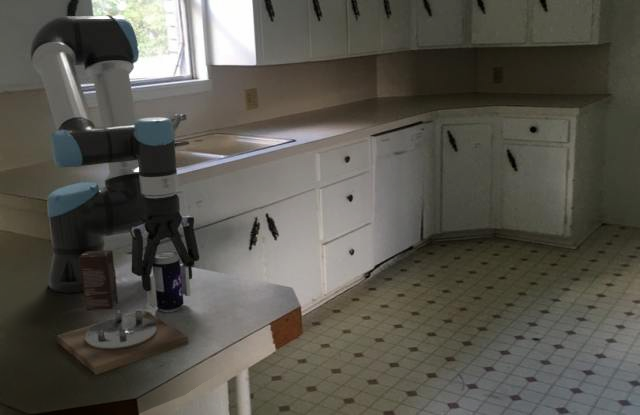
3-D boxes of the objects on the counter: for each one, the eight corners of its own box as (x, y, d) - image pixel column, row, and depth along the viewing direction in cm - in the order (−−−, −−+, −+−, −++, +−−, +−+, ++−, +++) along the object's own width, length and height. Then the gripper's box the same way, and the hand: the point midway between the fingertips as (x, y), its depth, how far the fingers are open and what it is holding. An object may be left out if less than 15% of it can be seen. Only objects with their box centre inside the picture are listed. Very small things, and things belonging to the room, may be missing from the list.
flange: (74, 335, 129) (72, 320, 129) (138, 316, 138) (136, 302, 137) (102, 357, 120) (101, 341, 119) (169, 335, 128) (167, 320, 127)
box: (118, 301, 150) (113, 249, 147) (112, 309, 146) (106, 255, 143) (91, 302, 150) (85, 250, 147) (84, 310, 146) (78, 256, 143)
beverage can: (177, 314, 142) (172, 259, 139) (152, 312, 143) (146, 258, 140) (187, 304, 147) (183, 251, 144) (163, 302, 148) (158, 250, 145)
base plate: (57, 342, 130) (56, 335, 130) (144, 316, 141) (143, 309, 141) (95, 374, 117) (94, 366, 116) (188, 343, 128) (187, 335, 128)
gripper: (121, 205, 130) (133, 317, 135) (211, 188, 143) (219, 291, 148) (105, 199, 136) (117, 307, 141) (193, 183, 148) (201, 283, 154)
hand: (169, 299), depth 145 cm, fingers open, 7 cm apart
